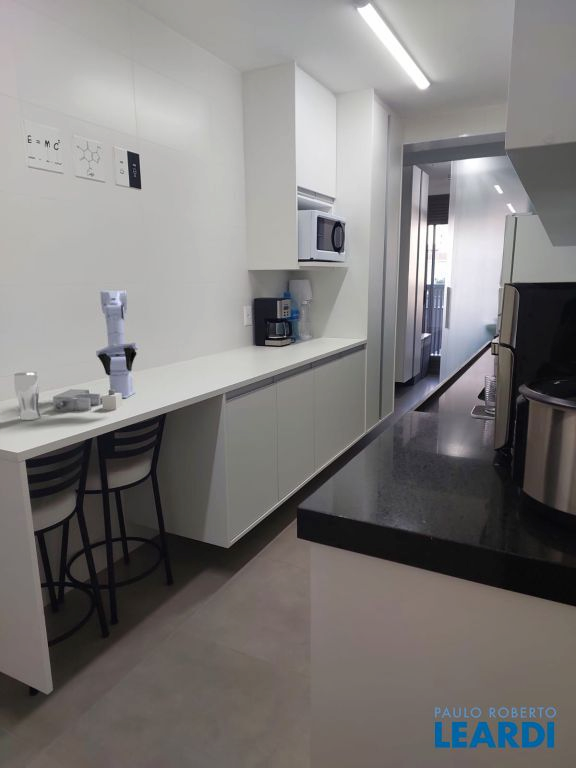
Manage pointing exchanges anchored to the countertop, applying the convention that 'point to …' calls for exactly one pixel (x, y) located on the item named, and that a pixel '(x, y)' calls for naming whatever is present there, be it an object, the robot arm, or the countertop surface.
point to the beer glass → (27, 395)
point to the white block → (112, 400)
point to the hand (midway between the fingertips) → (118, 372)
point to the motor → (75, 400)
